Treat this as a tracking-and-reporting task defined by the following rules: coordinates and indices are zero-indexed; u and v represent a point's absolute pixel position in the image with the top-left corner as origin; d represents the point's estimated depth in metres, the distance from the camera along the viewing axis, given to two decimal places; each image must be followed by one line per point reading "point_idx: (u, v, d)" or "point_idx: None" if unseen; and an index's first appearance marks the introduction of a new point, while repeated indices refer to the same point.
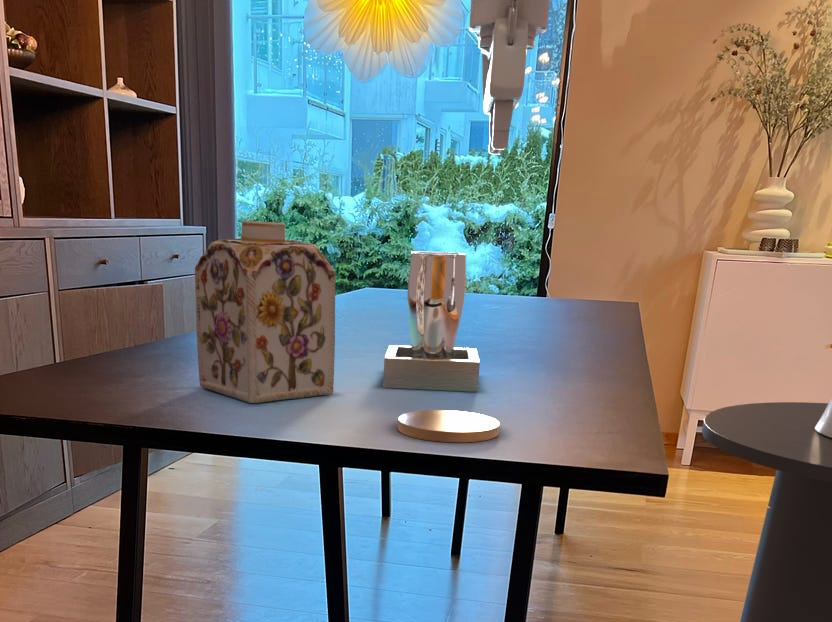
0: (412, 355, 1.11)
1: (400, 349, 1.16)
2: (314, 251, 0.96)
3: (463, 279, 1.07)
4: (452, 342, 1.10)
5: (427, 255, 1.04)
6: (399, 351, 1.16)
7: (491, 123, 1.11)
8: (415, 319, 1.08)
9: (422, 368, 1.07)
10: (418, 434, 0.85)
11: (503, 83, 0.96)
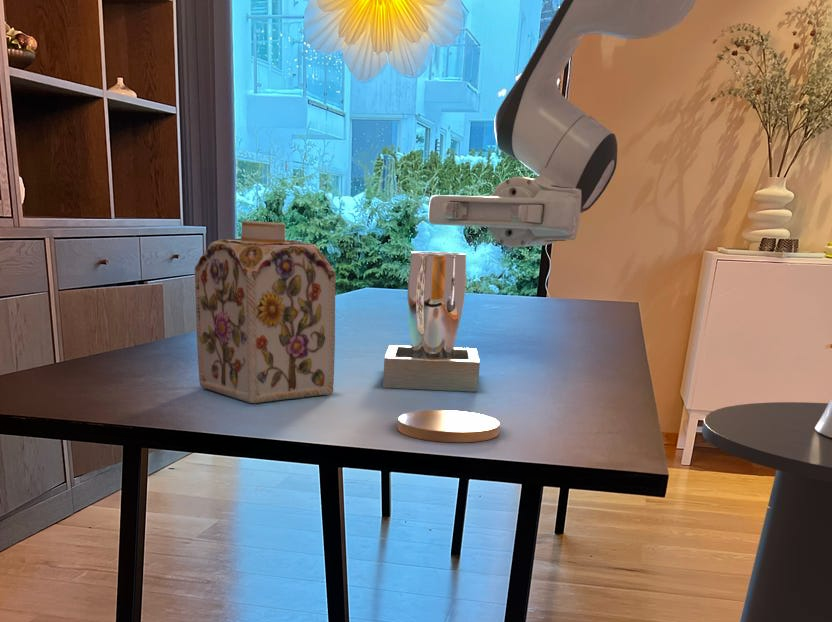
0: (412, 355, 1.11)
1: (400, 349, 1.16)
2: (314, 251, 0.96)
3: (463, 279, 1.07)
4: (452, 342, 1.10)
5: (427, 255, 1.04)
6: (399, 351, 1.16)
7: None
8: (415, 319, 1.08)
9: (422, 368, 1.07)
10: (418, 434, 0.85)
11: None
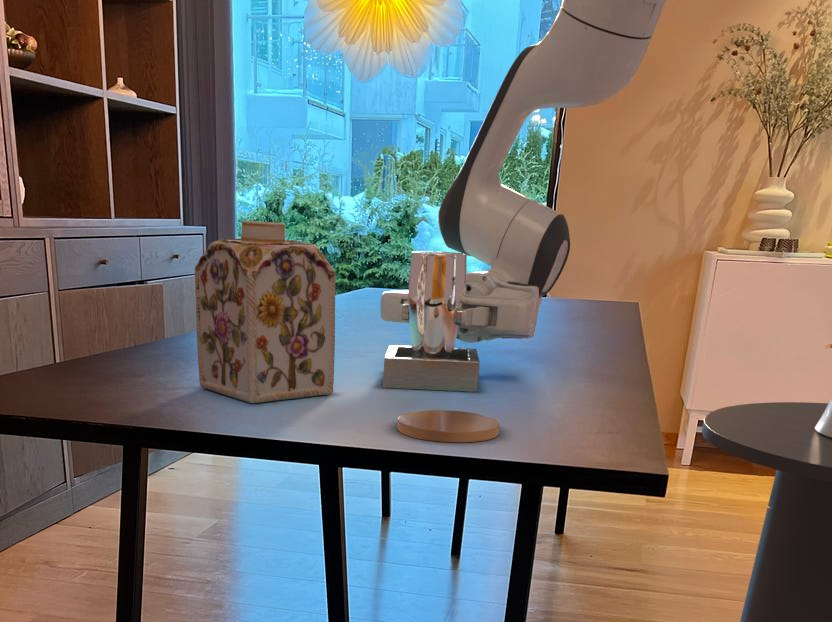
0: (412, 355, 1.11)
1: (400, 349, 1.16)
2: (314, 251, 0.96)
3: (464, 279, 1.07)
4: (452, 342, 1.10)
5: (428, 255, 1.04)
6: (399, 351, 1.16)
7: None
8: (415, 319, 1.08)
9: (422, 368, 1.07)
10: (418, 434, 0.85)
11: None
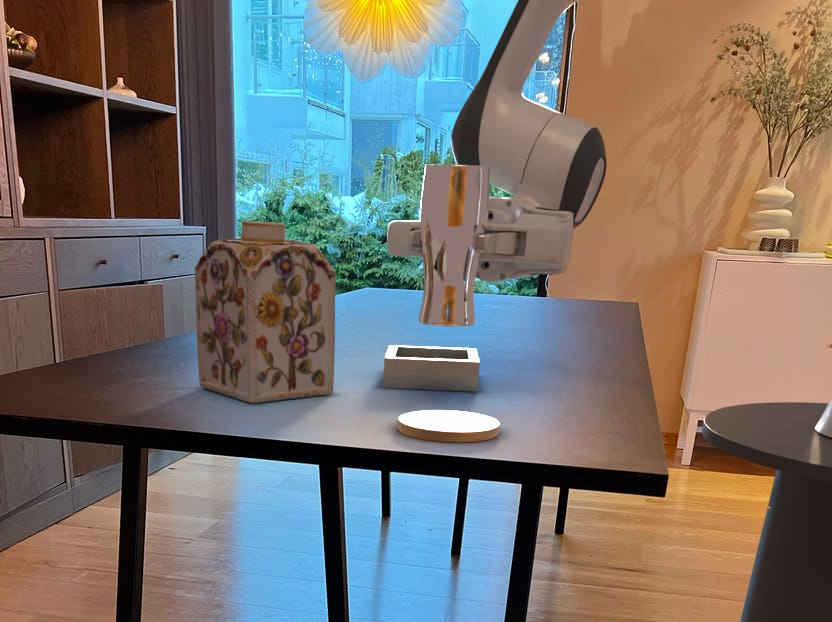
0: (425, 291, 0.94)
1: (400, 349, 1.16)
2: (314, 251, 0.96)
3: (487, 197, 0.90)
4: (473, 274, 0.93)
5: (444, 166, 0.87)
6: (399, 351, 1.16)
7: None
8: (429, 246, 0.91)
9: (422, 368, 1.07)
10: (418, 434, 0.85)
11: None
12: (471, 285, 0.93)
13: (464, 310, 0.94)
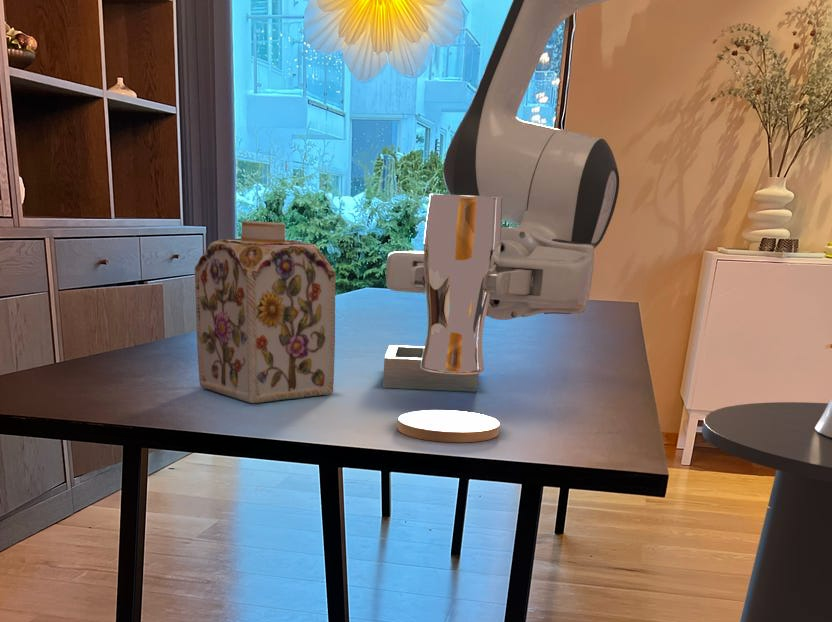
0: (428, 334, 0.84)
1: (400, 349, 1.16)
2: (314, 251, 0.96)
3: (499, 231, 0.79)
4: (482, 317, 0.82)
5: (452, 197, 0.77)
6: (399, 351, 1.16)
7: None
8: (433, 285, 0.81)
9: None
10: (418, 434, 0.85)
11: None
12: (480, 328, 0.83)
13: (472, 356, 0.83)
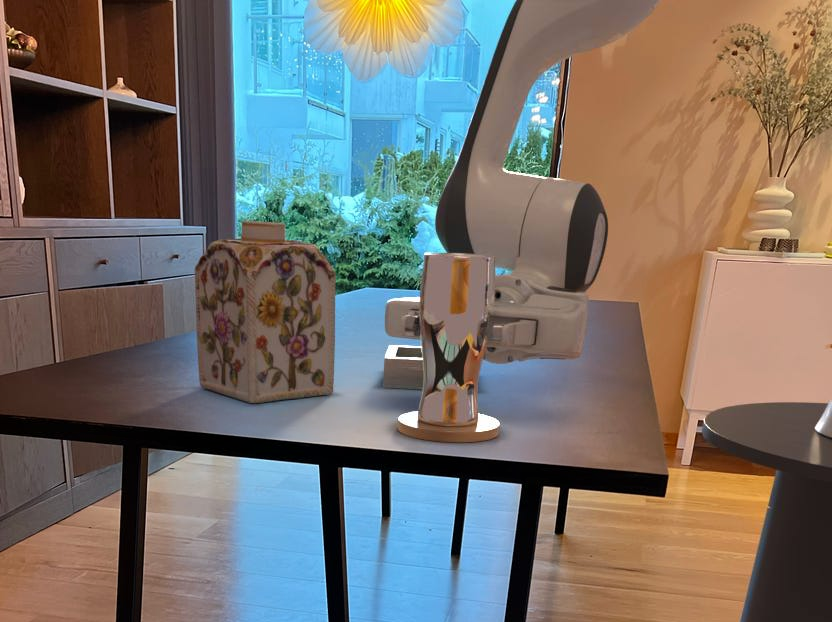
0: (424, 387, 0.86)
1: (400, 349, 1.16)
2: (314, 251, 0.96)
3: (492, 289, 0.81)
4: (477, 370, 0.85)
5: (445, 258, 0.79)
6: (399, 351, 1.16)
7: None
8: (429, 341, 0.83)
9: (422, 368, 1.07)
10: (418, 434, 0.85)
11: None
12: (475, 381, 0.85)
13: (467, 409, 0.85)
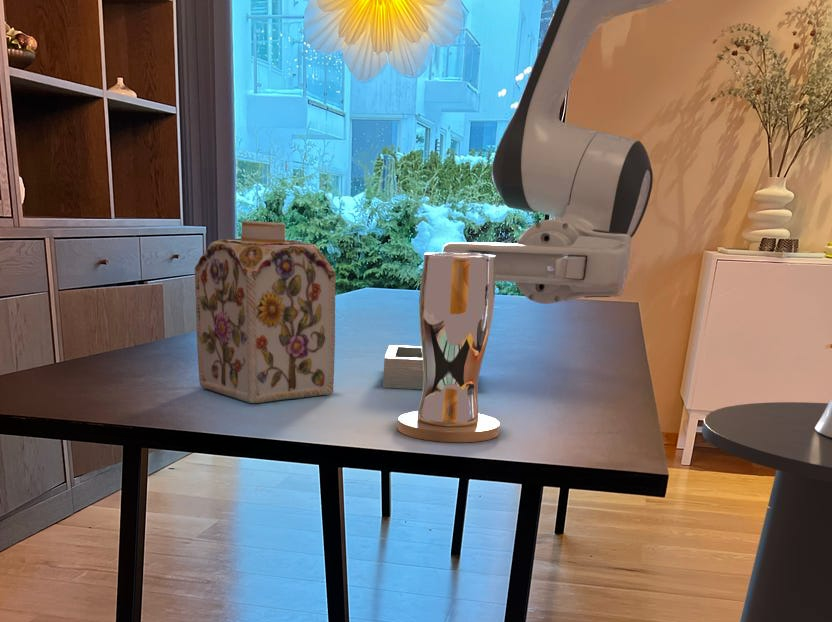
0: (424, 387, 0.86)
1: (400, 349, 1.16)
2: (314, 251, 0.96)
3: (492, 289, 0.81)
4: (477, 370, 0.85)
5: (445, 258, 0.79)
6: (399, 351, 1.16)
7: None
8: (429, 341, 0.83)
9: (422, 368, 1.07)
10: (418, 434, 0.85)
11: None
12: (475, 381, 0.85)
13: (467, 409, 0.85)
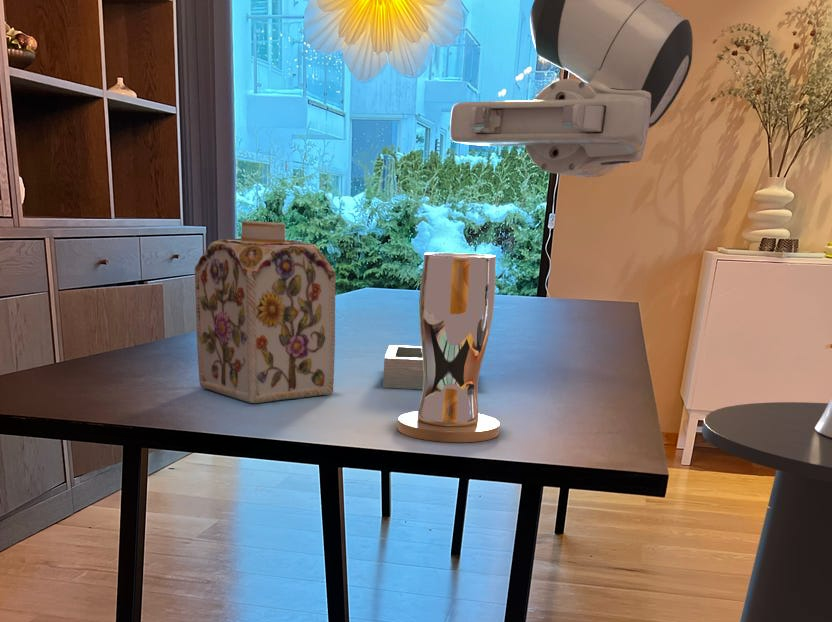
0: (424, 387, 0.86)
1: (400, 349, 1.16)
2: (314, 251, 0.96)
3: (492, 289, 0.81)
4: (477, 370, 0.85)
5: (445, 258, 0.79)
6: (399, 351, 1.16)
7: None
8: (429, 341, 0.83)
9: (422, 368, 1.07)
10: (418, 434, 0.85)
11: None
12: (475, 381, 0.85)
13: (467, 409, 0.85)
